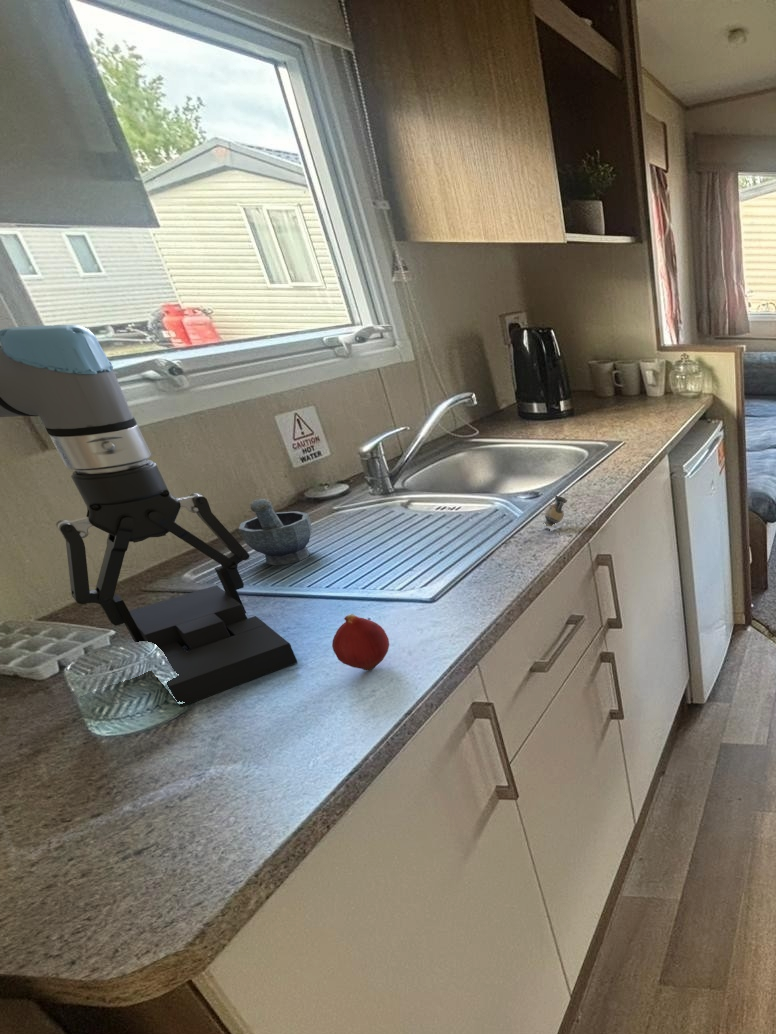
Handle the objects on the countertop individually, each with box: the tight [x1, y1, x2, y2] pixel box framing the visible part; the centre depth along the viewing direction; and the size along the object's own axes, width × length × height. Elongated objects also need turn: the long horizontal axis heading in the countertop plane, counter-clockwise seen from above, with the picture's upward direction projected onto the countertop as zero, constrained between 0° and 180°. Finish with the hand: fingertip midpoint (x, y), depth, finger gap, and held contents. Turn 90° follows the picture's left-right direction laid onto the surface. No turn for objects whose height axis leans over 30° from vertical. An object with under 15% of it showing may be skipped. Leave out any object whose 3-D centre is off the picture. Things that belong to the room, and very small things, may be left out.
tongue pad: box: [129, 585, 248, 650], centre depth 87 cm, size 14×10×3 cm
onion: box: [331, 614, 390, 671], centre depth 82 cm, size 6×6×8 cm
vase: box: [537, 495, 568, 533], centre depth 127 cm, size 5×5×6 cm
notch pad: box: [159, 615, 298, 708], centre depth 83 cm, size 12×12×3 cm
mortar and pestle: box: [238, 498, 313, 566], centre depth 111 cm, size 11×9×12 cm
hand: (192, 626), depth 89 cm, fingers closed on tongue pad, 10 cm apart
